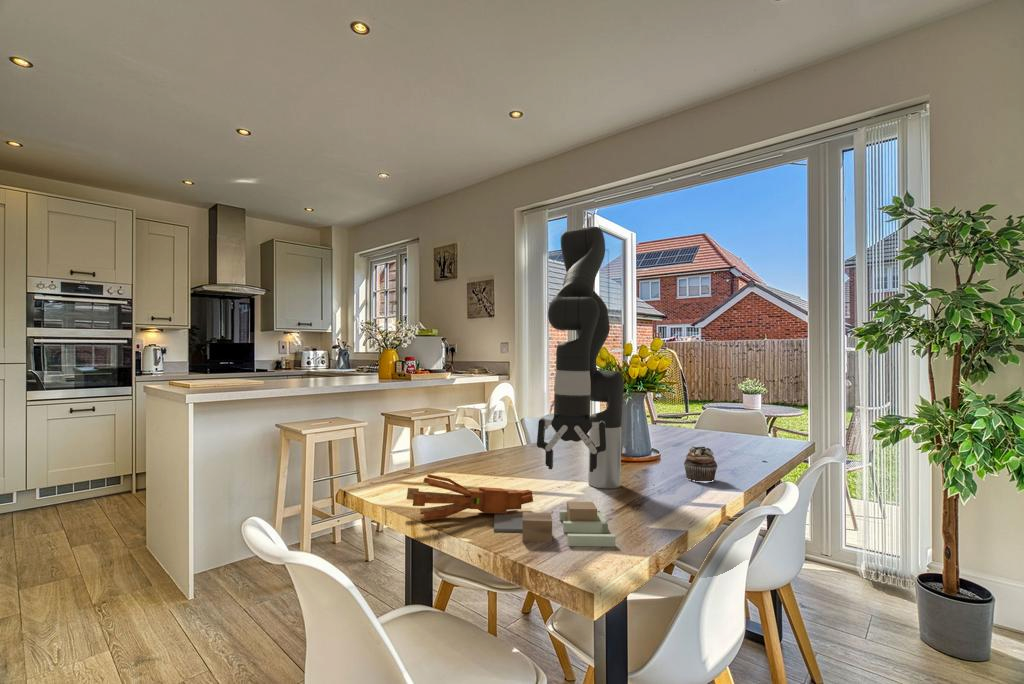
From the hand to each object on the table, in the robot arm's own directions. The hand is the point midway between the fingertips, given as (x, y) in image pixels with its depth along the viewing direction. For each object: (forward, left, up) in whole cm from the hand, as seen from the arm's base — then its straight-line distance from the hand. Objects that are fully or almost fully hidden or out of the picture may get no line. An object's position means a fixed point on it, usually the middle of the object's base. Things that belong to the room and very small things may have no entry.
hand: (570, 469), depth 103 cm
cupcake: (-48, +47, -14) cm, 68 cm away
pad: (-8, -11, -14) cm, 20 cm away
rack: (-4, +4, -14) cm, 15 cm away
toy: (-13, -21, -14) cm, 29 cm away
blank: (0, -7, -14) cm, 16 cm away
